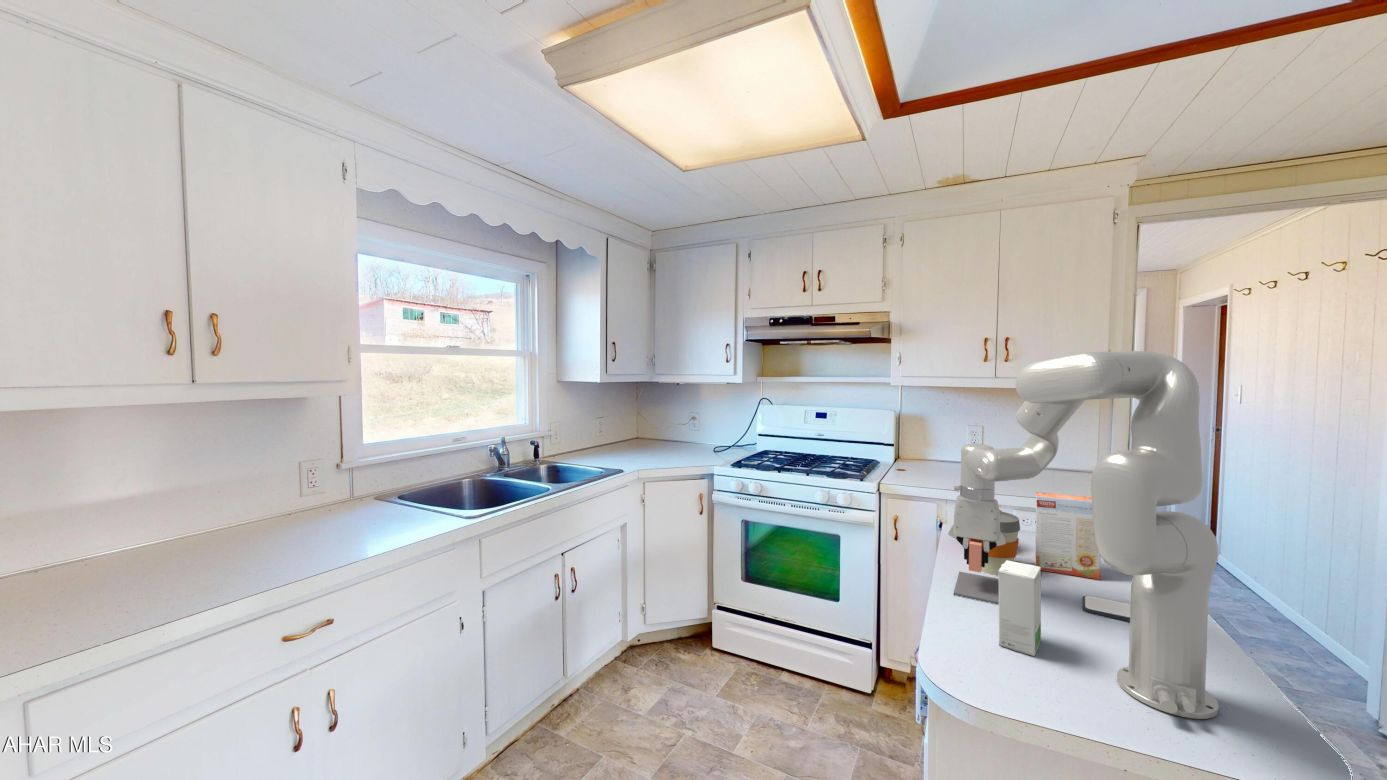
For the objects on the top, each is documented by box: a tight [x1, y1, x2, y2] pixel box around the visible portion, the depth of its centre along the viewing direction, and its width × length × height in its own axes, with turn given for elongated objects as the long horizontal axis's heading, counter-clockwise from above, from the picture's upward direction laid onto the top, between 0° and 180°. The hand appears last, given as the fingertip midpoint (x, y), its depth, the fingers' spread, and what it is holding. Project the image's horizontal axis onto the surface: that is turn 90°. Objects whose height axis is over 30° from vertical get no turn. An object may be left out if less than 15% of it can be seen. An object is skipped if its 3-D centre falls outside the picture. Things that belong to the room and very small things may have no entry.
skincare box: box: [998, 560, 1042, 657], centre depth 101 cm, size 8×7×16 cm
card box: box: [968, 539, 983, 573], centre depth 126 cm, size 9×3×7 cm, turn 147°
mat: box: [953, 571, 999, 605], centre depth 125 cm, size 15×15×1 cm
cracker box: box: [1035, 491, 1102, 580], centre depth 135 cm, size 14×6×21 cm, turn 58°
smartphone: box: [1082, 595, 1130, 624], centre depth 112 cm, size 9×2×16 cm
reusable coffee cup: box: [969, 510, 1021, 576], centre depth 138 cm, size 13×13×15 cm
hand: (975, 563), depth 126 cm, fingers closed on card box, 2 cm apart
